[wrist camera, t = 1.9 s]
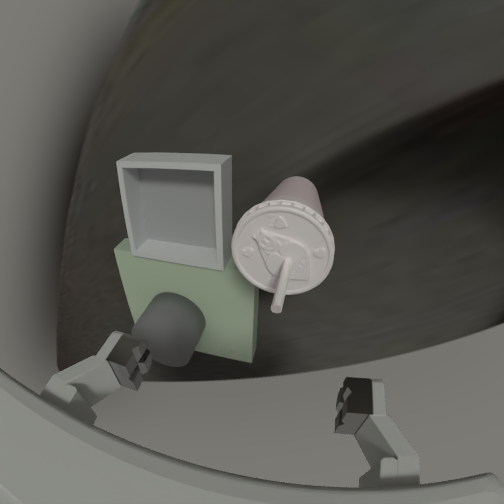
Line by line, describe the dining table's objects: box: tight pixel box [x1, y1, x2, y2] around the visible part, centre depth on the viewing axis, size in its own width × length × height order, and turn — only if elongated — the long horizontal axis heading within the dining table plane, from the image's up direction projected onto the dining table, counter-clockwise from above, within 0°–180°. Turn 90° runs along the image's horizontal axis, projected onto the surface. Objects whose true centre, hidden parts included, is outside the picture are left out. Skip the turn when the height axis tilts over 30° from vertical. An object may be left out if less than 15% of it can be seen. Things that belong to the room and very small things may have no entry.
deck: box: [114, 153, 259, 367], centre depth 30 cm, size 16×24×8 cm, turn 179°
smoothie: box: [231, 176, 335, 313], centre depth 20 cm, size 6×6×14 cm
